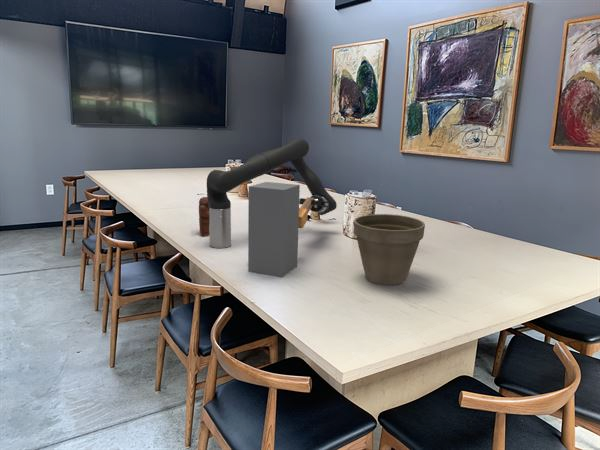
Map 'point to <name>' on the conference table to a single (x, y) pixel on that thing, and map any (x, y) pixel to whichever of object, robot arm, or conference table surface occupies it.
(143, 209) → the conference table surface
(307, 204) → the mallet
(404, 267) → the plant pot
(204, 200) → the wooden figurine
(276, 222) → the pedestal
